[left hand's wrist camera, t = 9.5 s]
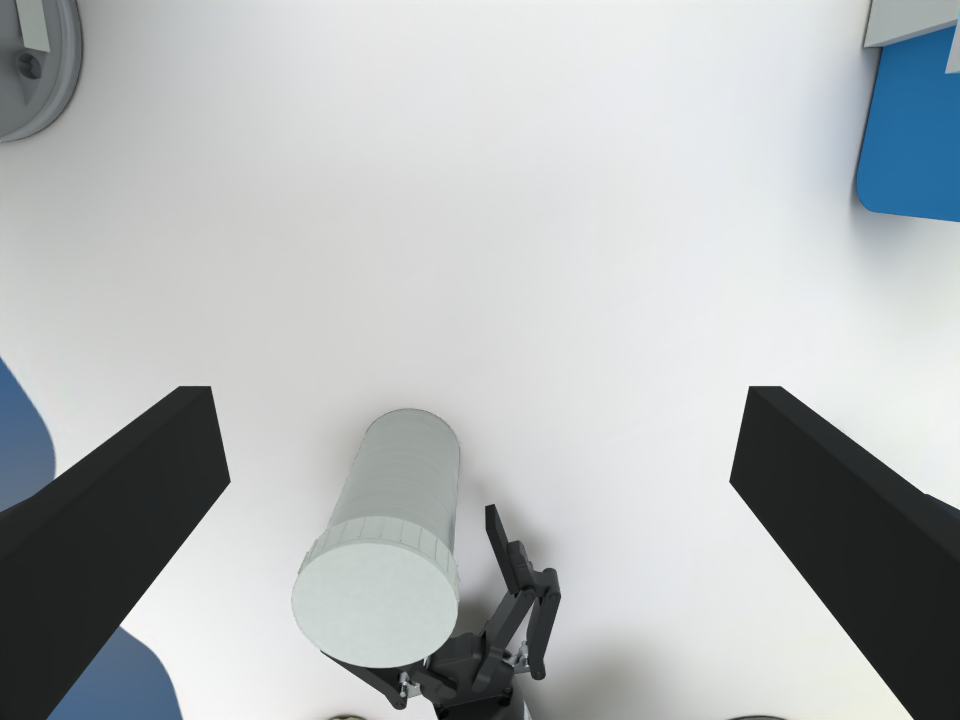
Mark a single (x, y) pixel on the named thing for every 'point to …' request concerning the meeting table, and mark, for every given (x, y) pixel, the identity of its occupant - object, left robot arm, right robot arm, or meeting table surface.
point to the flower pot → (347, 719)
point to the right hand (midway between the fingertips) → (405, 537)
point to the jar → (405, 474)
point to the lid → (377, 592)
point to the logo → (914, 111)
